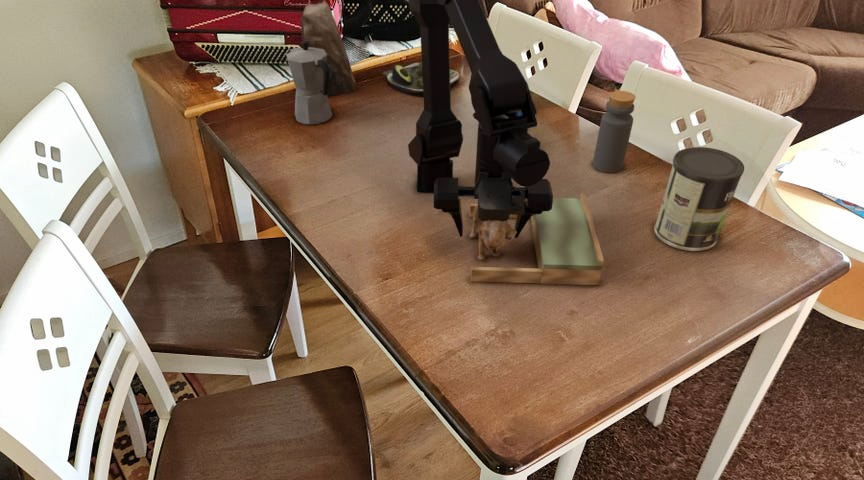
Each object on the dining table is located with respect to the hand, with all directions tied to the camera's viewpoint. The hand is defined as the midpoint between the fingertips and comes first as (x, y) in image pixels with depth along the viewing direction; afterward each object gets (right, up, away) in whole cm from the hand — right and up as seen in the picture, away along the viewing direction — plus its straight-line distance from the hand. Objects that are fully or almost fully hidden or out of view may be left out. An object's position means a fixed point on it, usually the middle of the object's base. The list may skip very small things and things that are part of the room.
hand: (488, 236), depth 105 cm
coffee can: (+34, 0, +2) cm, 34 cm away
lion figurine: (0, -2, +1) cm, 2 cm away
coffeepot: (-34, +30, +43) cm, 63 cm away
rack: (+7, -2, +1) cm, 7 cm away
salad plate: (-8, +43, +57) cm, 72 cm away
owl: (-31, +41, +56) cm, 76 cm away
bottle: (+28, +15, +20) cm, 38 cm away
